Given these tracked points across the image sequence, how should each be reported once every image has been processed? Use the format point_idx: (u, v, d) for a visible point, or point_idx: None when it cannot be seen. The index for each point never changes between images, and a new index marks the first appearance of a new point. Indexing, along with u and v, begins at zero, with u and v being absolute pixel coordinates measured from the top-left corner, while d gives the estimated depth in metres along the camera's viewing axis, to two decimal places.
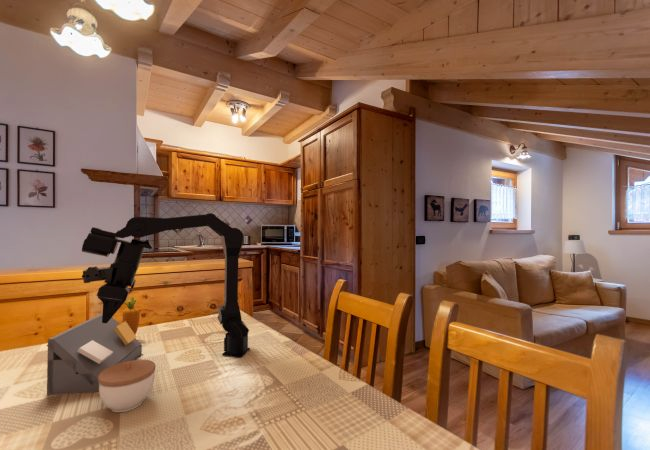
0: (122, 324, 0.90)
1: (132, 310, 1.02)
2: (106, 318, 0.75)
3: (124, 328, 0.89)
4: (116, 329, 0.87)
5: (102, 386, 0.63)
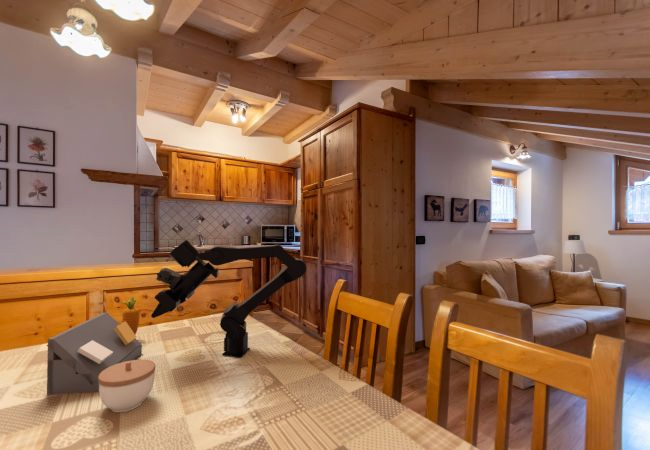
0: (122, 324, 0.90)
1: (132, 310, 1.02)
2: (155, 314, 0.88)
3: (124, 328, 0.89)
4: (116, 329, 0.87)
5: (102, 386, 0.63)
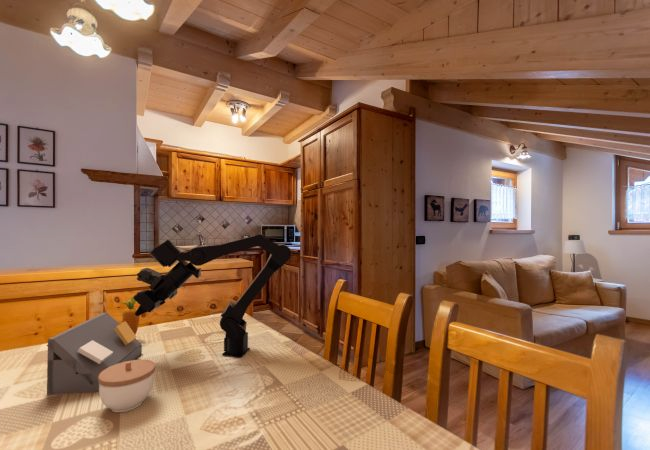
0: (122, 324, 0.90)
1: (132, 310, 1.02)
2: (138, 312, 0.89)
3: (124, 328, 0.89)
4: (116, 329, 0.87)
5: (102, 386, 0.63)
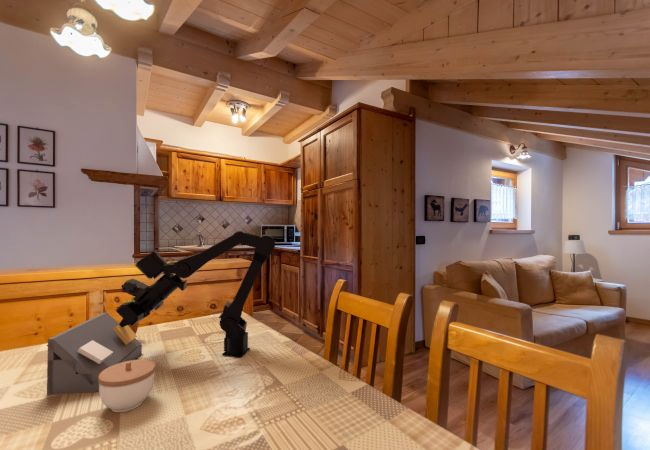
0: None
1: None
2: (122, 324, 0.89)
3: (124, 328, 0.89)
4: (115, 329, 0.87)
5: (102, 386, 0.63)
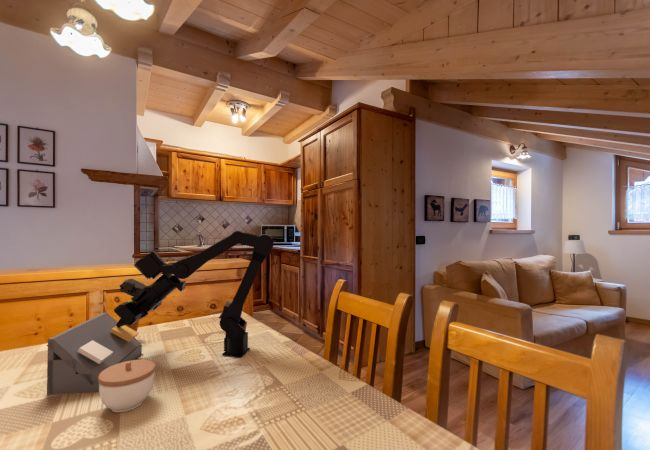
0: None
1: None
2: (120, 324, 0.89)
3: (121, 328, 0.89)
4: (113, 331, 0.87)
5: (102, 386, 0.63)
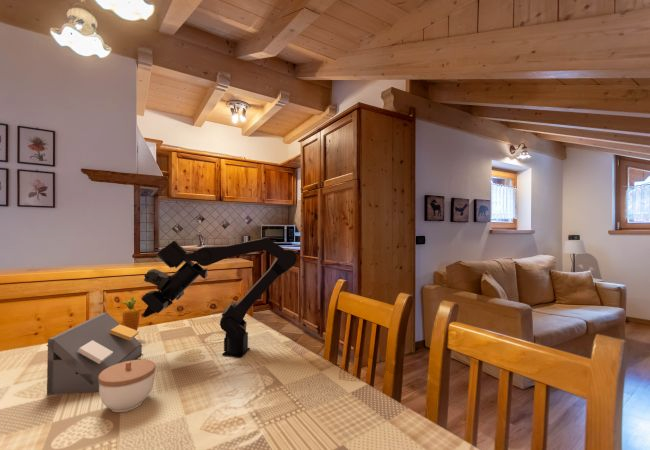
0: (117, 327, 0.90)
1: (132, 310, 1.02)
2: (146, 313, 0.90)
3: (121, 329, 0.89)
4: (112, 332, 0.87)
5: (102, 386, 0.63)
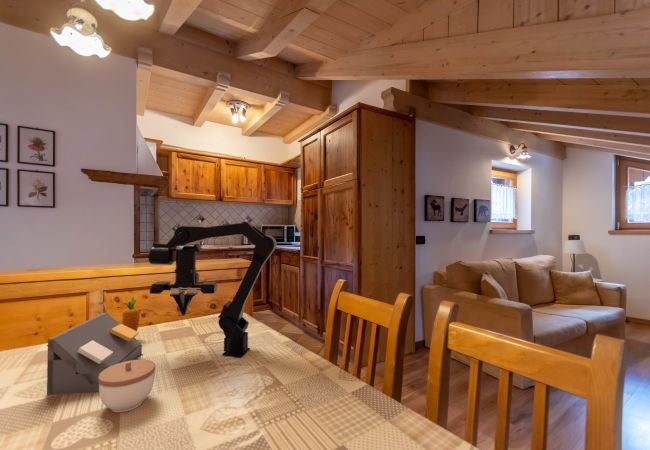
0: (118, 326, 0.90)
1: (132, 310, 1.02)
2: None
3: (121, 328, 0.89)
4: (112, 331, 0.87)
5: (102, 386, 0.63)
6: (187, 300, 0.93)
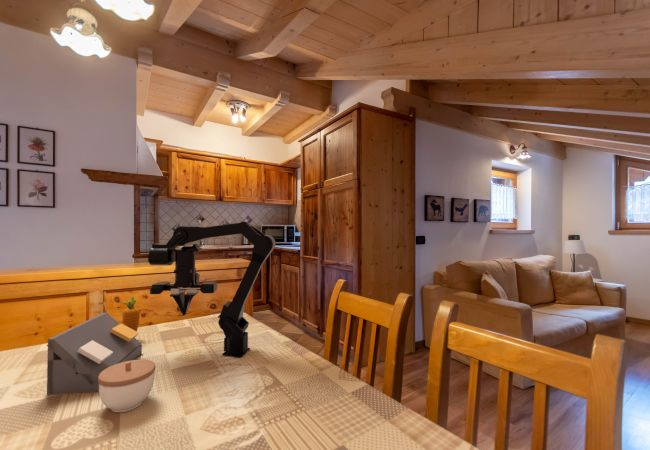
0: (118, 326, 0.90)
1: (132, 310, 1.02)
2: None
3: (121, 328, 0.89)
4: (113, 331, 0.87)
5: (102, 386, 0.63)
6: (187, 300, 0.93)
